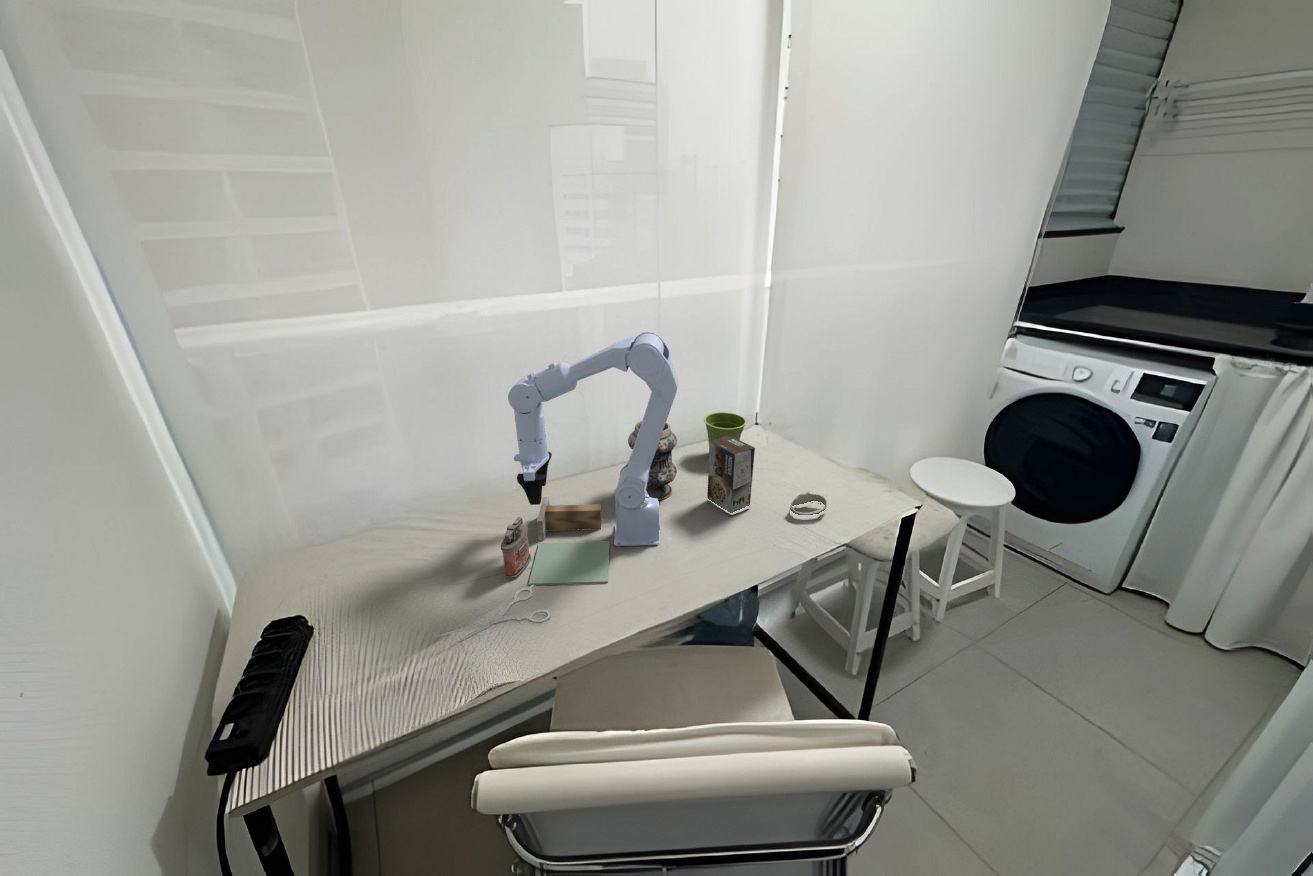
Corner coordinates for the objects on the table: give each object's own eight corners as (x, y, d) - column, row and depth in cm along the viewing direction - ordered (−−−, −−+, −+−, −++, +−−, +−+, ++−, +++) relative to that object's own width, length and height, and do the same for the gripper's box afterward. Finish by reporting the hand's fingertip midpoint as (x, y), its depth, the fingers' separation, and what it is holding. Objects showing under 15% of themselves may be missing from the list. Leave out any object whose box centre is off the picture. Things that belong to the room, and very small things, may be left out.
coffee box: (751, 508, 127) (756, 447, 120) (730, 517, 123) (735, 454, 117) (725, 492, 134) (729, 433, 127) (705, 500, 130) (708, 440, 124)
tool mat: (609, 542, 114) (609, 541, 114) (607, 583, 102) (607, 581, 102) (539, 544, 113) (538, 543, 113) (528, 585, 101) (528, 583, 101)
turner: (602, 514, 124) (601, 495, 122) (600, 539, 115) (599, 519, 113) (545, 515, 124) (543, 496, 122) (538, 540, 115) (536, 521, 113)
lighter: (517, 581, 102) (511, 538, 98) (501, 579, 103) (494, 536, 99) (534, 556, 110) (529, 515, 106) (519, 554, 110) (513, 513, 106)
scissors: (560, 612, 94) (445, 664, 84) (561, 616, 95) (445, 667, 84) (536, 581, 102) (427, 624, 92) (536, 584, 103) (428, 627, 92)
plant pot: (700, 464, 148) (701, 426, 143) (704, 446, 158) (705, 410, 154) (743, 467, 146) (746, 429, 141) (744, 449, 157) (747, 413, 152)
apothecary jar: (674, 479, 140) (675, 415, 132) (678, 503, 129) (679, 435, 121) (628, 480, 139) (627, 416, 132) (627, 504, 128) (626, 436, 121)
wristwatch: (816, 504, 129) (819, 486, 127) (832, 518, 123) (835, 499, 121) (783, 510, 126) (785, 492, 124) (797, 525, 121) (800, 506, 119)
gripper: (518, 423, 115) (525, 478, 120) (504, 452, 101) (512, 513, 107) (551, 422, 115) (556, 477, 121) (541, 451, 102) (548, 512, 107)
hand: (538, 494), depth 114 cm, fingers open, 7 cm apart
